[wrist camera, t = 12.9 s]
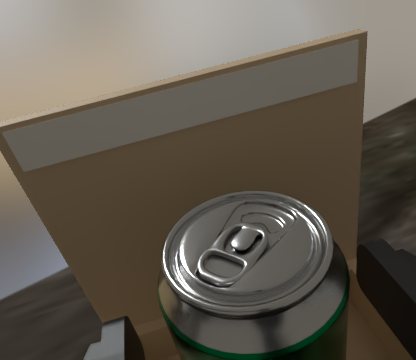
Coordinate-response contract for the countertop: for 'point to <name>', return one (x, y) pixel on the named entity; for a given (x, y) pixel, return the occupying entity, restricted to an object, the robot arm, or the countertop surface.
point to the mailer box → (199, 171)
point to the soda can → (254, 281)
